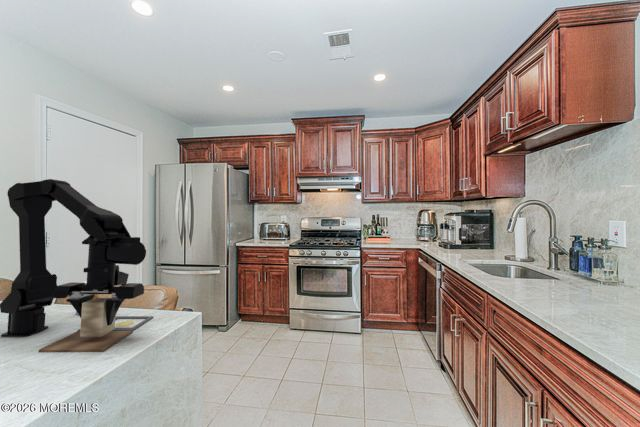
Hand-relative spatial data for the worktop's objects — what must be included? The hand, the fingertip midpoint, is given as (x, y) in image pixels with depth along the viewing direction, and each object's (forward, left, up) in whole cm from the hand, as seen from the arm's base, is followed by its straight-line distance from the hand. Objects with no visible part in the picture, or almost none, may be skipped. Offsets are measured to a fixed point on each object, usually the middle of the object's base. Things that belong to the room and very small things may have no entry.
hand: (98, 324), depth 73 cm
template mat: (-2, +12, -4) cm, 13 cm away
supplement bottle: (-18, +23, -4) cm, 30 cm away
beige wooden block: (0, 0, -2) cm, 2 cm away
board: (-1, -1, -4) cm, 4 cm away
